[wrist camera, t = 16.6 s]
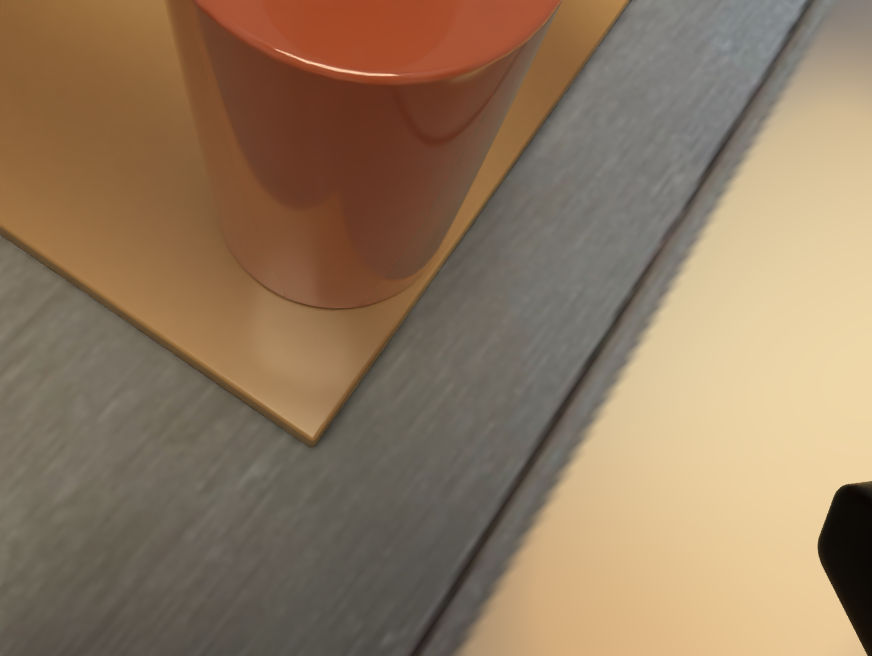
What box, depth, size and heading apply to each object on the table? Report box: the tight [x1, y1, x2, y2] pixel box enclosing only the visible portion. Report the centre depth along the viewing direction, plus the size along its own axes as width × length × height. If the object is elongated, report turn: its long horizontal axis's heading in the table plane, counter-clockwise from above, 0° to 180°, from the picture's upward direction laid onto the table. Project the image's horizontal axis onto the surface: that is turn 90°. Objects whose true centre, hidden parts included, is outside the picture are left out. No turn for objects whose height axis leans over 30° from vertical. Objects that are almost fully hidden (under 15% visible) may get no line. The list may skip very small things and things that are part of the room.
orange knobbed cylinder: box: [164, 0, 563, 308], centre depth 11 cm, size 4×4×9 cm
